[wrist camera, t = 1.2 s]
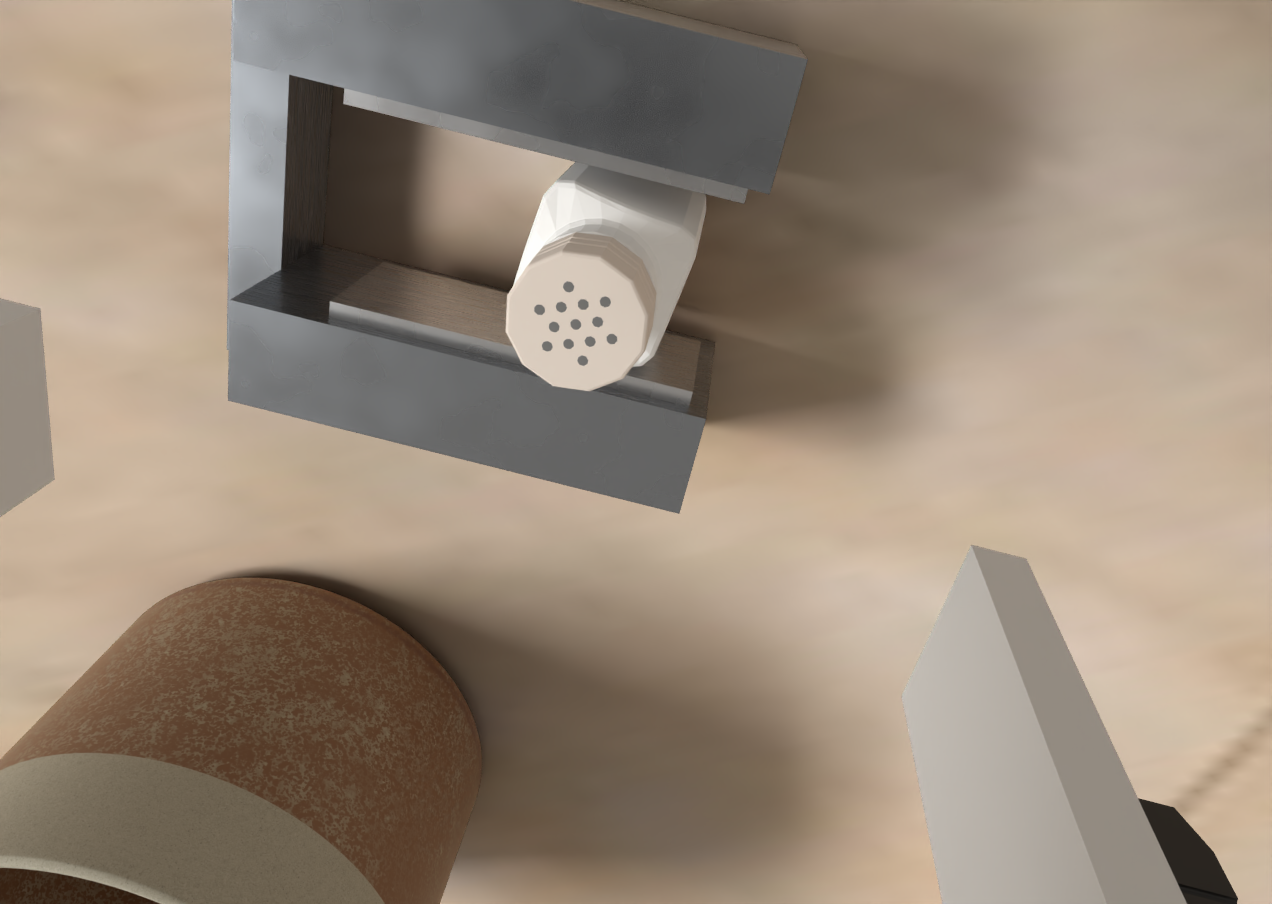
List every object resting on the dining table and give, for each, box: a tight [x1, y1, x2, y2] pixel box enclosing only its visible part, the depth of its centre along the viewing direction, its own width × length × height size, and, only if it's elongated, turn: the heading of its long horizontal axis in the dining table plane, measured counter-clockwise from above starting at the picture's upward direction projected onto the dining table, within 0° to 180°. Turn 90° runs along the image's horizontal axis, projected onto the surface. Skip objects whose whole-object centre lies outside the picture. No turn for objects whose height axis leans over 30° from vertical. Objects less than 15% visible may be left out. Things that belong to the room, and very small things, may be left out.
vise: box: [227, 0, 808, 513], centre depth 26 cm, size 15×12×6 cm
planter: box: [0, 578, 482, 904], centre depth 34 cm, size 16×16×14 cm
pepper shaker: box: [506, 162, 706, 391], centre depth 24 cm, size 4×4×10 cm
